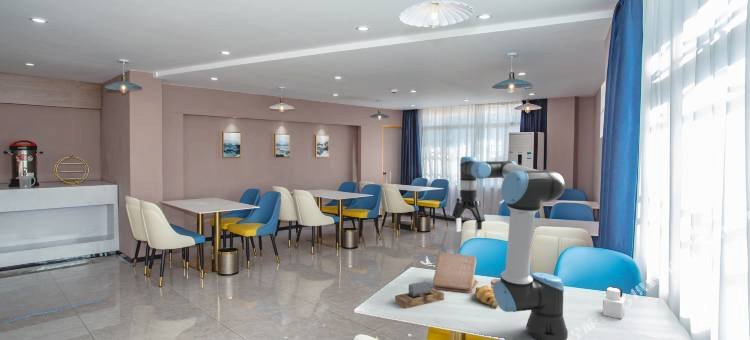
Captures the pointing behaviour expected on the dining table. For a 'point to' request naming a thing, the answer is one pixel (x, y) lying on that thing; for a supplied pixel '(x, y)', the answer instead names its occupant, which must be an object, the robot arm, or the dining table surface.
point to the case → (455, 273)
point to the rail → (419, 299)
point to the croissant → (486, 295)
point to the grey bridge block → (419, 289)
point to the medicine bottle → (614, 303)
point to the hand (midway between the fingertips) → (468, 233)
